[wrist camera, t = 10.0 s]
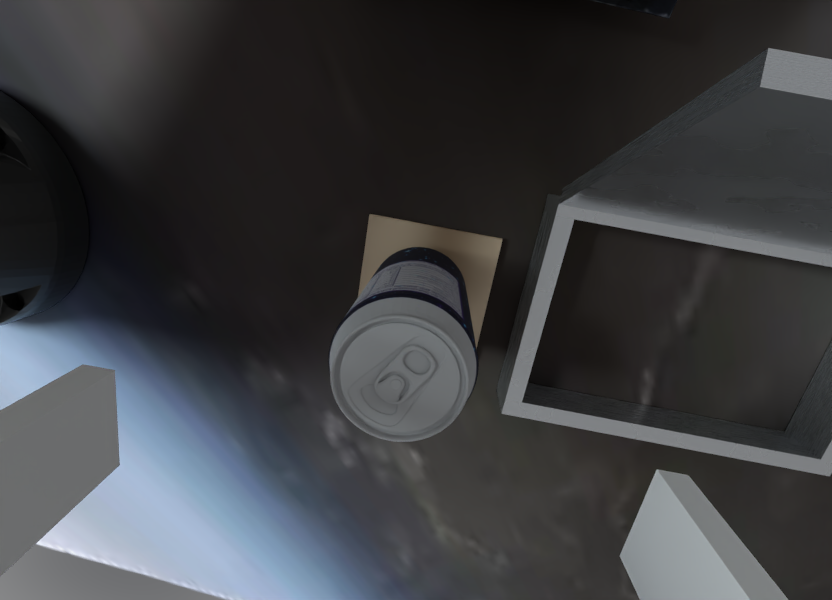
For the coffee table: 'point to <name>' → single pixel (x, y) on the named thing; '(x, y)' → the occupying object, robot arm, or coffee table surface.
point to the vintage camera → (645, 6)
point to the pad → (462, 247)
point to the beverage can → (406, 349)
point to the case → (705, 223)
